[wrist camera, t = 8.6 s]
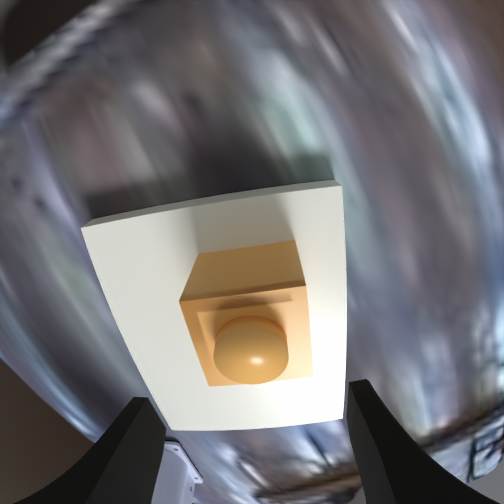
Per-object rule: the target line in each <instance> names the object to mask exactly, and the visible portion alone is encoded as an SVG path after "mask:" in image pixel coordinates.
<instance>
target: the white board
mask: <svg viewBox="0 0 504 504" xmlns="http://www.w3.org/2000/svg"><path fill="white" fill-rule="evenodd" d="M81 230H82V233H83V236H84V239H85V242H86V245H87V248H88V251H89V254H90V257H91V260H92V263H93V265H94V268H95V271H96V273H97V276H98V279H99V281H100V284H101V287H102V289H103V292H104V294H105V297H106V299H107V302H108V304H109V306H110V309H111V311H112V314H113V316H114V318H115V321H116V323H117V325H118V327H119V330H120V332H121V334H122V336H123V338H124V341H125V343H126V345H127V347H128V349H129V351H130V353H131V355H132V357H133V360H134V362H135V364H136V366H137V368H138V370H139V372H140V374H141V375H142V377H143V379H144V381H145V383H146V385H147V387H148V389H149V391H150V393H151V394H152V396H153V398H154V400H155V402H156V404H157V405H158V407H159V409H160V411H161V412H162V414H163V416H164V418H165V419H166V421H167V423H168V424H169V426H170V428H171V429H172V430H242V429H259V428H272V427H283V426H292V425H301V424H309V423H316V422H323V421H330V420H336V419H342V418H343V406H344V390H345V369H346V334H347V287H346V250H345V229H344V212H343V198H342V186H341V185H340V184H339V183H338V182H337V181H336V180H335V179H334V180H325V181H316V182H308V183H300V184H292V185H284V186H277V187H270V188H263V189H256V190H249V191H242V192H235V193H229V194H223V195H217V196H210V197H204V198H199V199H193V200H187V201H181V202H176V203H170V204H165V205H160V206H154V207H149V208H144V209H139V210H134V211H129V212H124V213H119V214H115V215H110V216H105V217H101V218H96V219H92V220H91V221H90V222H88V223H87V224H86V225H84V226H83V227H82V228H81ZM293 240H295V241H296V245H297V249H298V253H299V257H300V261H301V265H302V270H303V274H304V278H305V282H306V287H307V298H308V309H309V320H310V332H311V344H312V358H313V372H314V376H313V377H306V378H298V379H291V380H282V381H273V382H266V383H262V384H254V385H250V384H241V385H227V386H210V387H209V385H208V383H207V380H206V377H205V375H204V372H203V370H202V367H201V364H200V361H199V359H198V356H197V353H196V351H195V348H194V345H193V342H192V339H191V336H190V334H189V331H188V328H187V325H186V322H185V319H184V316H183V313H182V310H181V307H180V304H179V300H180V297H181V295H182V292H183V290H184V287H185V285H186V282H187V280H188V278H189V275H190V273H191V270H192V268H193V265H194V263H195V261H196V258H197V256H198V254H202V253H209V252H216V251H223V250H230V249H237V248H244V247H251V246H258V245H265V244H272V243H279V242H286V241H293Z"/></svg>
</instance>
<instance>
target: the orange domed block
mask: <svg viewBox="0 0 504 504" xmlns="http://www.w3.org/2000/svg"><path fill="white" fill-rule="evenodd" d="M179 304H180V307H181V310H182V313H183V316H184V319H185V322H186V325H187V328H188V331H189V334H190V336H191V339H192V342H193V345H194V348H195V351H196V353H197V356H198V359H199V361H200V364H201V367H202V370H203V372H204V375H205V377H206V380H207V383H208V385H209V387H210V386H227V385H241V384H250V385H254V384H262V383H266V382H273V381H282V380H291V379H298V378H306V377H313V376H314V372H313V358H312V344H311V332H310V320H309V309H308V298H307V287H306V282H305V278H304V274H303V270H302V265H301V261H300V257H299V253H298V249H297V245H296V241H295V240H293V241H286V242H279V243H272V244H265V245H258V246H251V247H244V248H237V249H230V250H223V251H216V252H209V253H202V254H198V256H197V258H196V261H195V263H194V265H193V268H192V270H191V273H190V275H189V278H188V280H187V282H186V285H185V287H184V290H183V292H182V295H181V297H180V300H179Z"/></svg>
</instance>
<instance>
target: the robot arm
mask: <svg viewBox="0 0 504 504" xmlns="http://www.w3.org/2000/svg"><path fill="white" fill-rule="evenodd" d="M346 417H347V423H348V429H349V435H350V441H351V445H352V448H353V452H354V455H355V459H356V463H357V466H358V470H359V473H360V477H361V481H362V485H363V488H364V492H365V497H366V504H500V503H498V502H496V501H494V500H492V499H490V498H488V497H486V496H484V495H482V494H480V493H479V492H477V491H475V490H474V489H472V488H471V487H469V486H467V485H466V484H464V483H463V482H462V481H460V480H459V479H457V478H456V477H455V476H453V475H452V474H451V473H449V472H448V471H446V470H445V469H444V468H443V467H442V466H440V465H439V464H438V463H437V462H436V461H435V460H433V459H432V458H431V457H430V456H429V455H428V454H427V453H426V452H425V451H424V450H423V449H422V448H421V447H420V446H419V445H418V444H417V443H416V442H415V441H414V440H413V439H412V438H411V437H410V436H409V434H408V433H407V432H406V431H405V430H404V429H403V428H402V426H401V425H400V424H399V423H398V421H397V420H396V419H395V418H394V416H393V415H392V414H391V413H390V411H389V410H388V409H387V407H386V406H385V405H384V403H383V402H382V400H381V399H380V398H379V396H378V395H377V393H376V392H375V390H374V388H373V387H372V385H371V384H370V382H369V381H368V380H367V379H364V380H359V381H353V382H349V389H348V403H347V416H346ZM165 434H166V428H165V426H164V424H163V423H162V421H161V419H160V418H159V416H158V414H157V413H156V411H155V409H154V408H153V406H152V404H151V402H150V401H149V399H148V398H146V397H133V399H132V400H131V401H130V402H129V403H128V405H127V406H126V407H125V408H124V409H123V411H122V412H121V413H120V414H119V416H118V417H117V418H116V419H115V421H114V422H113V423H112V424H111V426H110V427H109V428H108V429H107V430H106V431H105V433H104V434H103V435H102V436H101V437H100V439H99V440H98V441H97V442H96V443H95V444H94V445H93V446H92V447H91V448H90V449H89V451H88V452H87V453H86V454H85V455H84V456H83V457H82V458H81V459H80V460H79V461H78V462H77V463H76V464H74V465H73V466H72V467H71V468H70V469H69V470H68V471H66V472H65V473H64V474H63V475H61V476H60V477H59V478H57V479H56V480H54V481H53V482H52V483H50V484H49V485H47V486H46V487H44V488H43V489H41V490H40V491H38V492H36V493H35V494H33V495H31V496H29V497H27V498H25V499H23V500H20V501H18V502H16V503H14V504H192V500H193V493H194V487H195V483H203V479H202V477H201V476H200V474H199V473H198V471H197V470H196V468H195V467H194V466H193V464H192V463H191V461H190V460H189V458H188V457H187V455H186V453H185V452H184V450H183V449H182V447H181V446H180V444H179V443H177V442H170V441H165Z"/></svg>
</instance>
